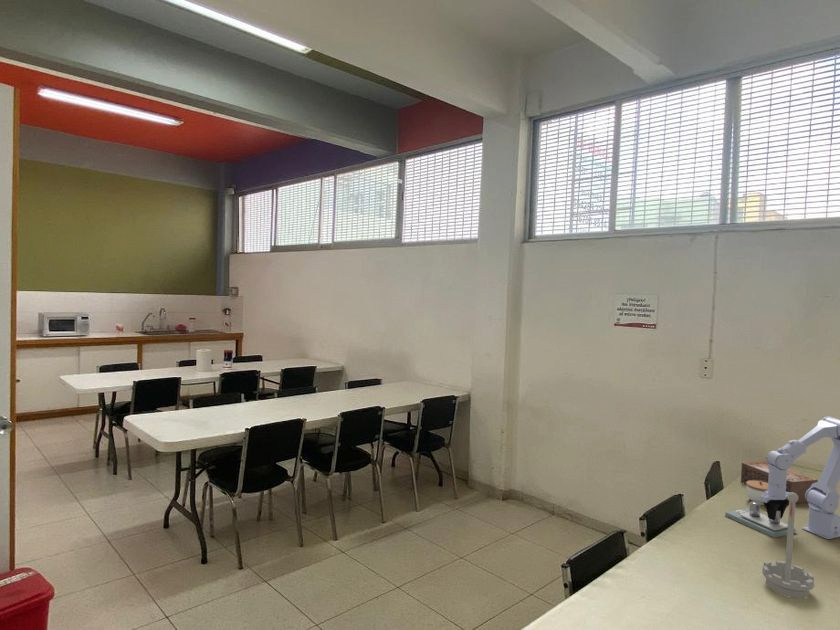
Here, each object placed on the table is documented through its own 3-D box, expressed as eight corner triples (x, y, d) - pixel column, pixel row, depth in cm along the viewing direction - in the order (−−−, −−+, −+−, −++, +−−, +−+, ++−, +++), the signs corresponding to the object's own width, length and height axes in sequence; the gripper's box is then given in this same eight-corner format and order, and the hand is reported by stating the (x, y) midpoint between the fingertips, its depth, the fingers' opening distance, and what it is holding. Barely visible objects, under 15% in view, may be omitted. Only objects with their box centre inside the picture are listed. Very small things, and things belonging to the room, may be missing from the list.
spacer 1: (762, 516, 209) (762, 504, 209) (755, 517, 208) (755, 505, 208) (754, 513, 213) (754, 501, 213) (747, 514, 212) (747, 501, 212)
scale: (795, 533, 202) (795, 526, 202) (774, 537, 197) (774, 531, 197) (745, 512, 220) (746, 505, 220) (725, 515, 216) (725, 509, 216)
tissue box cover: (740, 483, 255) (741, 462, 254) (764, 481, 259) (765, 460, 258) (790, 504, 230) (791, 482, 230) (816, 502, 234) (817, 479, 233)
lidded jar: (780, 507, 226) (781, 486, 225) (754, 506, 226) (755, 485, 226) (764, 497, 237) (765, 477, 236) (740, 496, 237) (741, 476, 236)
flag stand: (764, 572, 172) (769, 481, 171) (814, 587, 164) (820, 492, 163) (758, 589, 162) (764, 492, 161) (811, 606, 154) (818, 504, 153)
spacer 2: (782, 523, 202) (783, 510, 202) (775, 524, 201) (775, 511, 201) (773, 519, 205) (774, 507, 205) (766, 520, 204) (767, 507, 204)
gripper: (779, 477, 209) (777, 511, 209) (753, 481, 203) (751, 516, 204) (798, 483, 202) (795, 518, 203) (772, 488, 197) (770, 524, 197)
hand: (775, 518), depth 203 cm, fingers closed on spacer 2, 3 cm apart
